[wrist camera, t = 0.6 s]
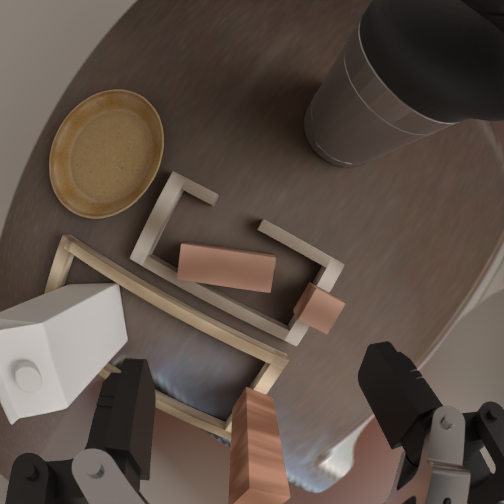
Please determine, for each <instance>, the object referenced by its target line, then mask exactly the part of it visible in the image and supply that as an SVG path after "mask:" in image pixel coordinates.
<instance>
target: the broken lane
mask: <svg viewBox="0 0 504 504" xmlns="http://www.w3.org/2000/svg"><path fill="white" fill-rule="evenodd" d="M184 191H186V192H188V193H190V194H192V195H194V196H195V197H197V198H199V199H201V200H203V201H205V202H207V203H209V204H211V205H212V206H214V205H215V203H216V201H217V199H218V198H219V195H218V194H216V193H214V192H212V191H210V190H208V189H207V188H205V187H203V186H201V185H199V184H197V183H195V182H193V181H191V180H189V179H187V178H185V177H183V176H181V175H180V174H178V173H176V172H174V171H173V172H172V174H171V176H170V178H169V179H168V181H167V183H166V185H165V187H164V189H163V191H162V193H161V195H160V196H159V198H158V200H157V202H156V204H155V206H154V208H153V210H152V212H151V214H150V216H149V218H148V220H147V222H146V224H145V227H144V229H143V231H142V233H141V235H140V237H139V239H138V241H137V244H136V246H135V248H134V250H133V252H132V255H131V257H130V259H131V260H133V261H135V262H136V263H138V264H140V265H141V266H143V267H145V268H147V269H148V270H150V271H152V272H154V273H155V274H157V275H159V276H161V277H162V278H164V279H166V280H168V281H169V282H171V283H173V284H175V285H177V286H178V287H180V288H182V289H184V290H186V291H188V292H189V293H191V294H193V295H195V296H197V297H199V298H201V299H202V300H204V301H206V302H208V303H210V304H212V305H214V306H216V307H218V308H220V309H221V310H223V311H225V312H227V313H229V314H231V315H233V316H235V317H237V318H239V319H241V320H243V321H245V322H247V323H249V324H251V325H253V326H255V327H257V328H259V329H261V330H263V331H265V332H267V333H270V334H272V335H274V336H276V337H278V338H280V339H282V340H284V341H286V342H289V343H291V344H293V345H295V346H298V344H299V342H300V341H301V339H302V338H303V336H304V334H305V333H306V331H307V329H308V328H309V326H312V327H314V328H316V329H318V330H320V331H322V332H324V333H326V334H328V332H329V331H330V329H331V327H332V326H333V324H334V322H335V321H336V319H337V318H338V316H339V314H340V312H341V311H342V309H343V307H344V306H345V303H344V302H342V301H341V300H340V299H339V298H337V297H336V296H334V295H333V294H331V293H329V292H330V291H331V289H332V287H333V285H334V283H335V282H336V280H337V278H338V276H339V274H340V273H341V271H342V269H343V267H344V264H342V263H341V262H339V261H337V260H335V259H334V258H332V257H330V256H329V255H327V254H325V253H323V252H322V251H320V250H318V249H316V248H315V247H313V246H311V245H309V244H308V243H306V242H304V241H302V240H300V239H299V238H297V237H295V236H293V235H292V234H290V233H288V232H286V231H284V230H283V229H281V228H279V227H277V226H275V225H274V224H272V223H270V222H268V221H266V220H264V219H262V221H261V223H260V225H259V227H258V229H257V230H259V231H261V232H263V233H264V234H266V235H268V236H270V237H272V238H274V239H275V240H277V241H279V242H281V243H283V244H284V245H286V246H288V247H290V248H292V249H294V250H295V251H297V252H299V253H301V254H303V255H304V256H306V257H308V258H310V259H311V260H313V261H315V262H317V263H319V264H320V265H322V267H321V268H320V270H319V272H318V274H317V276H316V277H315V279H314V281H313V283H310V282H309V283H308V285H307V287H306V289H305V290H304V292H303V294H302V296H301V297H300V299H299V301H298V303H297V304H296V306H295V308H294V309H293V312H294V315H293V317H292V319H291V320H290V322H289V324H288V325H286V324H284V323H282V322H279V321H277V320H275V319H273V318H271V317H269V316H267V315H265V314H263V313H261V312H259V311H257V310H255V309H253V308H252V307H250V306H248V305H246V304H244V303H242V302H240V301H238V300H236V299H234V298H232V297H230V296H228V295H226V294H224V293H223V292H221V291H219V290H217V289H215V288H213V287H211V286H209V285H207V284H211V285H218V286H225V287H231V288H238V289H245V290H253V291H260V292H267V293H271V287H272V280H273V274H274V268H275V262H276V257H275V256H274V255H273V254H270V253H263V252H256V251H249V250H243V249H236V248H229V247H222V246H215V245H208V244H202V243H195V242H185V243H182V244H181V249H180V257H179V265H178V268H176V267H174V266H173V265H171V264H169V263H167V262H166V261H164V260H162V259H160V258H158V257H157V256H155V255H153V254H152V253H153V251H154V249H155V247H156V245H157V243H158V241H159V239H160V237H161V235H162V233H163V230H164V228H165V226H166V224H167V223H168V221H169V219H170V217H171V215H172V213H173V211H174V209H175V207H176V205H177V203H178V201H179V199H180V197H181V196H182V194H183V192H184Z"/></svg>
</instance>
